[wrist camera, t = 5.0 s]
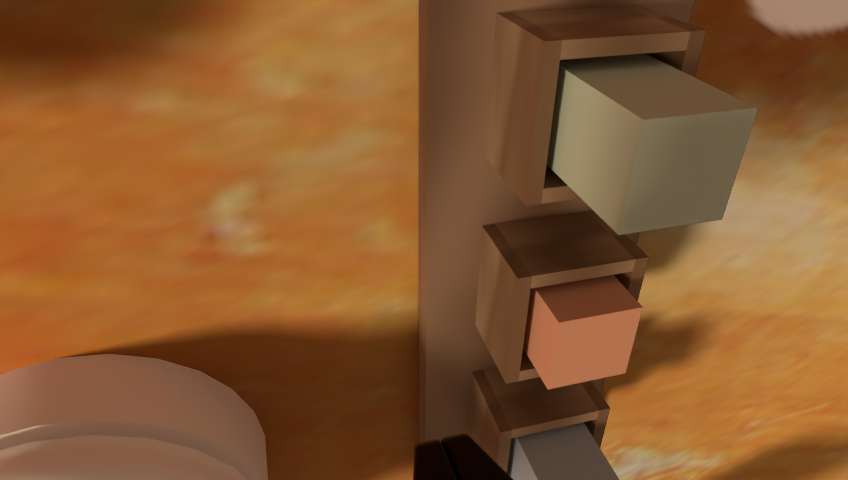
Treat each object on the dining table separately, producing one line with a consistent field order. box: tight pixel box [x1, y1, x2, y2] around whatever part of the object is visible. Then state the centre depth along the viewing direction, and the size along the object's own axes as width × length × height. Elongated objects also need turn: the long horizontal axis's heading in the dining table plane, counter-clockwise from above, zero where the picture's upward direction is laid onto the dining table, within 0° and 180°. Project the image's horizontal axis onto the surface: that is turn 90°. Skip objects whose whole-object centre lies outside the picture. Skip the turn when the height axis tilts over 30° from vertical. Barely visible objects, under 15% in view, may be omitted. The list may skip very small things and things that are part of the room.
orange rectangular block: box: [523, 275, 643, 389], centre depth 22 cm, size 3×3×5 cm
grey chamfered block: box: [507, 422, 619, 480], centre depth 24 cm, size 3×3×5 cm
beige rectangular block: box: [547, 53, 758, 235], centre depth 16 cm, size 3×3×5 cm
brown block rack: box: [419, 0, 707, 473], centre depth 23 cm, size 9×25×5 cm, turn 0°
